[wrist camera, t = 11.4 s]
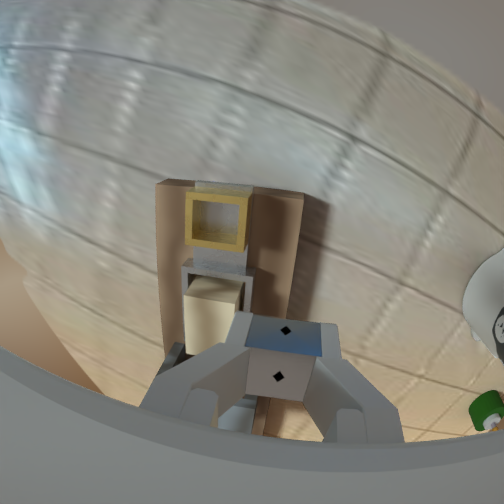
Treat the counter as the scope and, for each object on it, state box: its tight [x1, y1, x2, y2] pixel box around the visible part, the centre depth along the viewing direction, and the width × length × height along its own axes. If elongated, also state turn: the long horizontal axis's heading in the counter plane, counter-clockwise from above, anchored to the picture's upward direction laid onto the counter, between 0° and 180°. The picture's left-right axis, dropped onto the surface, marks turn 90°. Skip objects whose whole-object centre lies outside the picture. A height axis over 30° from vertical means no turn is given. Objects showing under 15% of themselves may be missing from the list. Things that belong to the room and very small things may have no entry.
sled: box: [181, 180, 256, 341], centre depth 39 cm, size 9×32×4 cm, turn 175°
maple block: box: [184, 275, 244, 355], centre depth 39 cm, size 6×9×6 cm, turn 175°
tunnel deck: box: [153, 179, 304, 436], centre depth 43 cm, size 18×54×14 cm, turn 175°
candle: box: [469, 390, 504, 431], centre depth 44 cm, size 8×8×10 cm
